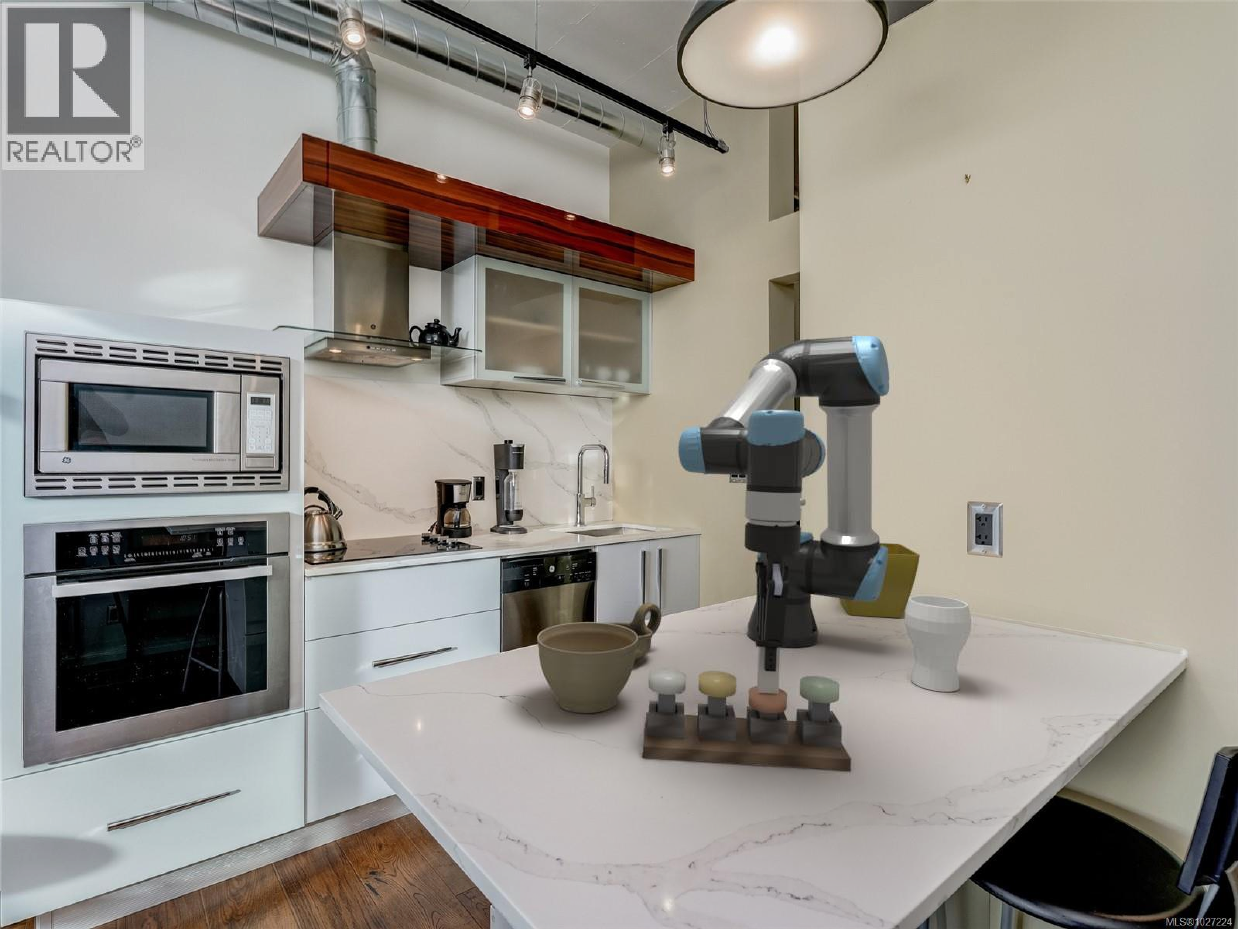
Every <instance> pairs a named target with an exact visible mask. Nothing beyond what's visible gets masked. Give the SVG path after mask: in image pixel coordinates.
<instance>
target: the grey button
mask: <svg viewBox="0 0 1238 929" xmlns="http://www.w3.org/2000/svg"><path fill="white" fill-rule="evenodd" d="M686 679H687V675H686V673H685V672H684V671H681V670H678V669H675V668H666V667H665V668H655V669H653V670H651V671H649V673H648V689H649V690H650V691H652V692H654V693H656V694H658V695H657V698H658V699H657V701H658V712H659V713H675V702H676V695H679V694H681V693H684V692H685V691H686V687H687V685H686V684H687V682H686V681H687V680H686Z"/></svg>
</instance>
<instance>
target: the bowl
mask: <svg viewBox="0 0 1238 929" xmlns="http://www.w3.org/2000/svg"><path fill="white" fill-rule="evenodd" d="M648 613H650V616H649V620H648V622H647V624H646V616H647V614H648ZM661 622H662V610H661V609H660V607H659V606H658V605H656V604H655V603H652V602H646V603H643V604H641V605H640V606H639V607H638V608H637V610H636V611H635V614H634V617H633V619H632V621H631V622H608V623H609V624H614V625H619V626H623V627H626V628H628V629H630V630H632V631H634V632H635V633H636V634H637V636H638V643H637V647H636V656H635V660H637V659H639V658H642V657H644V656H645V655H647V654H648V653H649V652H650V649H651V646H652V638H653V637H654V635H655V633H656V632H657V631H658V630H659V627H660V626H661Z"/></svg>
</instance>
